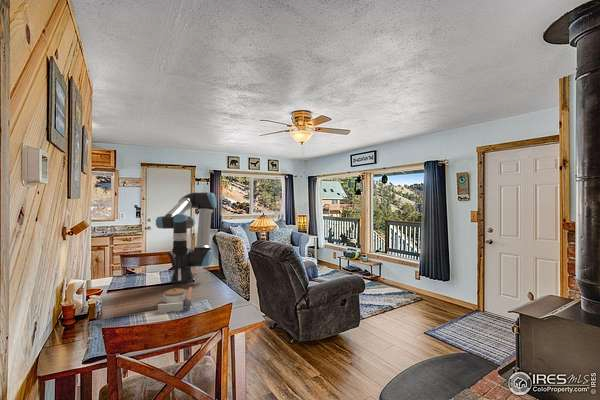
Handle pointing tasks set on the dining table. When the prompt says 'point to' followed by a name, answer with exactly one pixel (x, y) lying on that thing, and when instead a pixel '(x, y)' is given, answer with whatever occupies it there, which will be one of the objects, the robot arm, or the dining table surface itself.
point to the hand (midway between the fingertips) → (179, 280)
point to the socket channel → (171, 306)
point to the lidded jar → (174, 295)
